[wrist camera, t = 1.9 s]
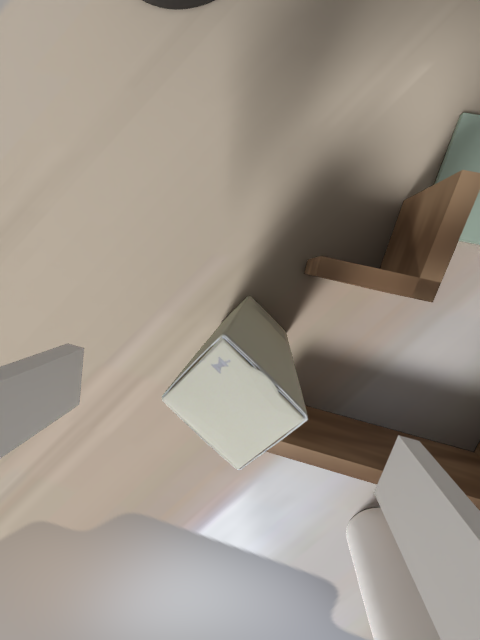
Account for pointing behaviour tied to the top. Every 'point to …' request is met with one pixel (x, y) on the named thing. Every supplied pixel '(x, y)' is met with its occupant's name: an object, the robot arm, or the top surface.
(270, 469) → the top surface
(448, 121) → the top surface
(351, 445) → the wooden u-shaped enclosure
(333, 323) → the top surface
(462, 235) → the pad
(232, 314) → the box
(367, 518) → the cylindrical container
